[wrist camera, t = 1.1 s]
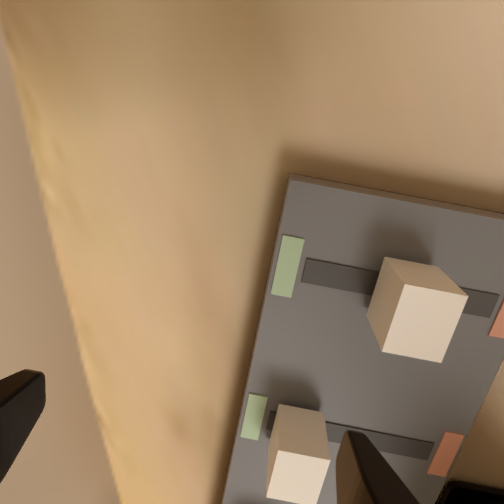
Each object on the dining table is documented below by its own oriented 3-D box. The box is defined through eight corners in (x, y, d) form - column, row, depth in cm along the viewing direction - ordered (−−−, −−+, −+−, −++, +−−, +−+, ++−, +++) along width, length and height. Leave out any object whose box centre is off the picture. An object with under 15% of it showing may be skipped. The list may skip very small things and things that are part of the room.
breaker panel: (535, 219, 19) (565, 231, 17) (384, 560, 27) (392, 595, 25) (289, 173, 19) (289, 179, 17) (216, 527, 27) (210, 559, 25)
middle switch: (323, 412, 20) (330, 460, 17) (311, 455, 21) (315, 507, 18) (278, 403, 20) (278, 450, 17) (267, 446, 21) (266, 497, 18)
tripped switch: (437, 266, 17) (468, 296, 14) (416, 324, 18) (441, 363, 15) (384, 256, 17) (404, 284, 14) (366, 314, 18) (381, 351, 15)
